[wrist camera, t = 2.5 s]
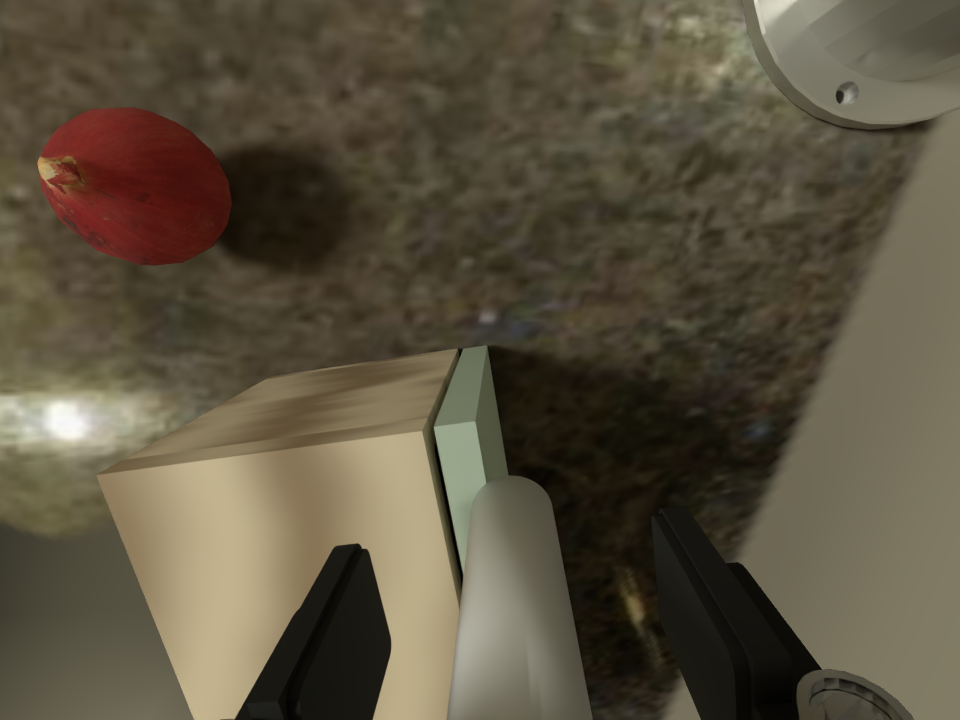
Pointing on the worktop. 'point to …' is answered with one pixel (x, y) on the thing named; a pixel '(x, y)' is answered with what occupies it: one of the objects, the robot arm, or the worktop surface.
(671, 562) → the robot arm
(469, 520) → the cupboard door
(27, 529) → the worktop surface
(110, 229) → the onion
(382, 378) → the cupboard
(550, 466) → the worktop surface
